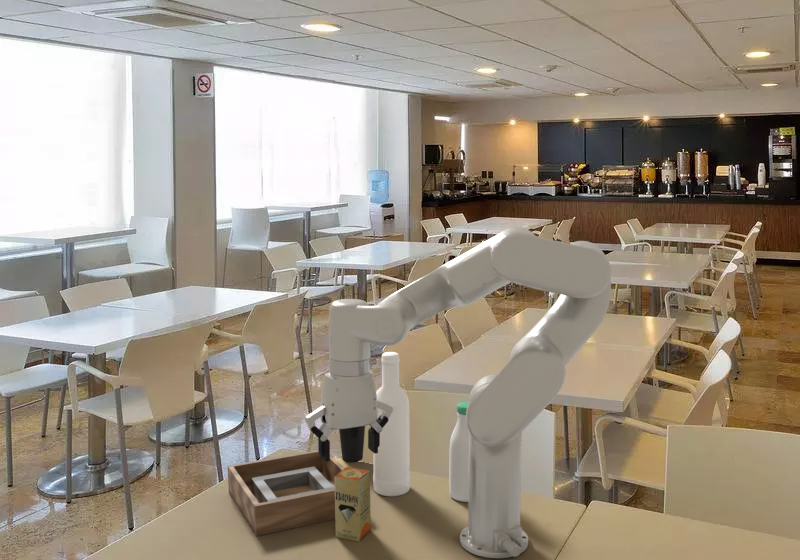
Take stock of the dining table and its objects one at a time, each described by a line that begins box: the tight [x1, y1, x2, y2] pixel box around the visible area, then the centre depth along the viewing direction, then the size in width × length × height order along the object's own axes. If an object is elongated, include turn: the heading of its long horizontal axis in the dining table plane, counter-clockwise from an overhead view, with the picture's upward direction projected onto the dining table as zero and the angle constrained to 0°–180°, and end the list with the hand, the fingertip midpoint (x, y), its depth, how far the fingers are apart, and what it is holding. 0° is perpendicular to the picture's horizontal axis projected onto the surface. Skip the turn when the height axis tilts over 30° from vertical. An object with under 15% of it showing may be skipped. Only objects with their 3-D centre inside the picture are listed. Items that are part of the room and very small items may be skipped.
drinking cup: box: [338, 425, 366, 463], centre depth 187 cm, size 8×8×20 cm
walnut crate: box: [227, 449, 346, 537], centre depth 164 cm, size 22×22×6 cm
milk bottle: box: [448, 401, 469, 503], centre depth 166 cm, size 8×8×20 cm
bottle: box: [372, 351, 411, 497], centre depth 168 cm, size 8×8×30 cm
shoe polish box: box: [334, 466, 372, 542], centre depth 150 cm, size 5×5×12 cm
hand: (349, 454), depth 149 cm, fingers open, 9 cm apart
